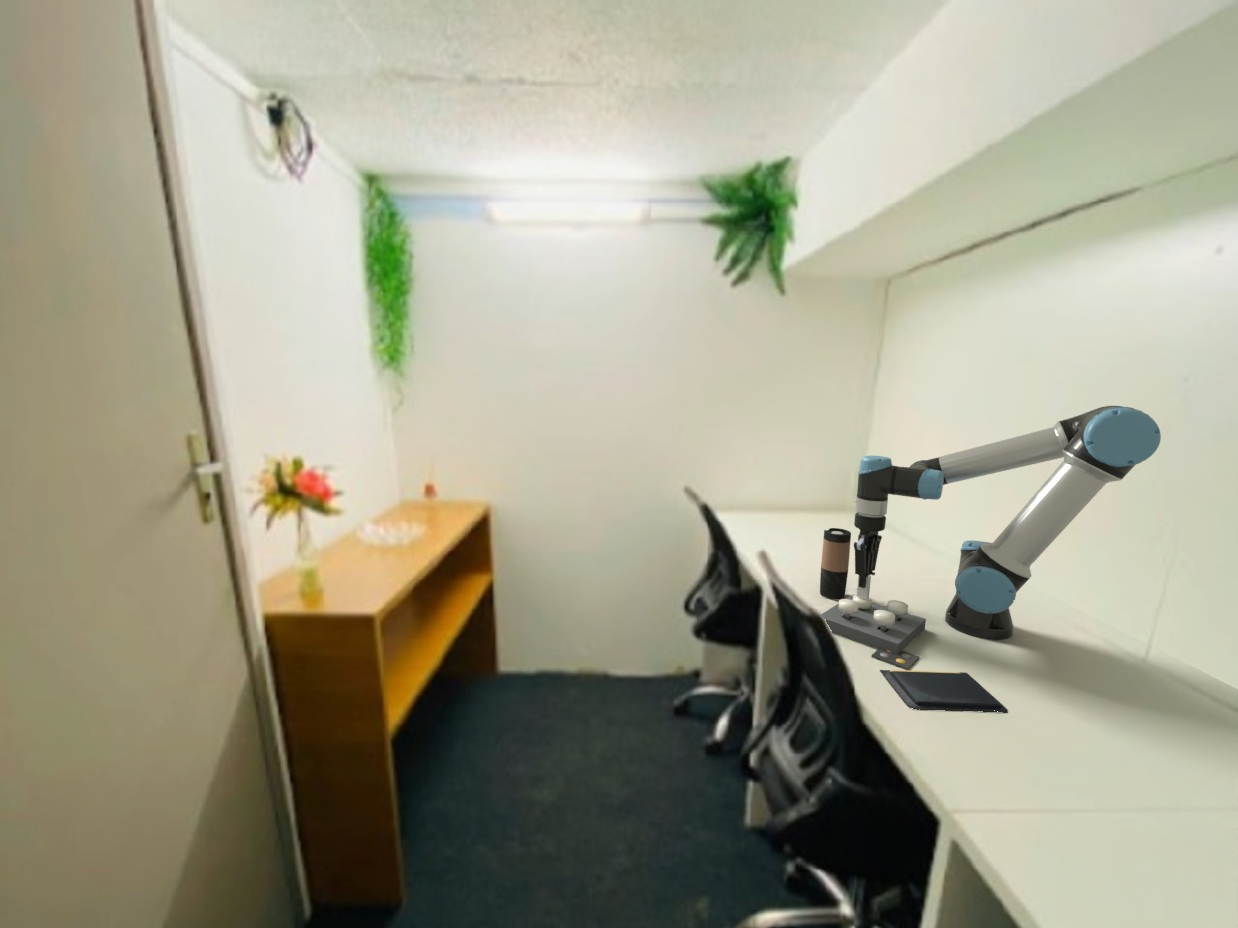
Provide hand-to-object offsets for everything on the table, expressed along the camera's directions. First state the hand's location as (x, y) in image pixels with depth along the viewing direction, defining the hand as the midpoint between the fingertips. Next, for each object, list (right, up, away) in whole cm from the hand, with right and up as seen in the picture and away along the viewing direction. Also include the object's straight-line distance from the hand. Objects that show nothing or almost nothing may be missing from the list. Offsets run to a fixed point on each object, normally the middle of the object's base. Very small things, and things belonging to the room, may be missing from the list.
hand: (862, 597), depth 148 cm
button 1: (+6, -5, -6) cm, 10 cm away
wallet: (+2, -12, -33) cm, 35 cm away
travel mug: (-2, -3, +16) cm, 17 cm away
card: (-1, -9, -20) cm, 22 cm away
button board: (0, -7, -5) cm, 9 cm away
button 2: (0, -6, -12) cm, 13 cm away
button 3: (0, -5, +1) cm, 5 cm away
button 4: (-7, -5, -6) cm, 10 cm away
